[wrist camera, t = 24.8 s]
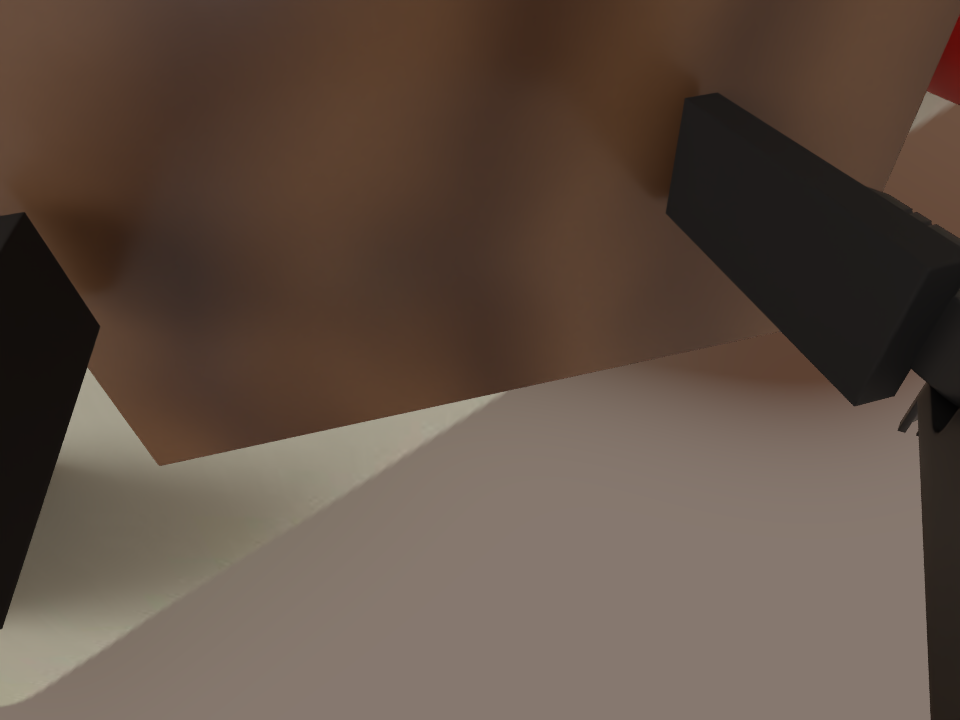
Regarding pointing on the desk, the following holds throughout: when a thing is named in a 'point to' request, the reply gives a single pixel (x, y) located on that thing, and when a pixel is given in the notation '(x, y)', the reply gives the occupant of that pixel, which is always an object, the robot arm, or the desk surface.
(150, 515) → the desk surface
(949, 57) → the bottle
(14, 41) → the lid
